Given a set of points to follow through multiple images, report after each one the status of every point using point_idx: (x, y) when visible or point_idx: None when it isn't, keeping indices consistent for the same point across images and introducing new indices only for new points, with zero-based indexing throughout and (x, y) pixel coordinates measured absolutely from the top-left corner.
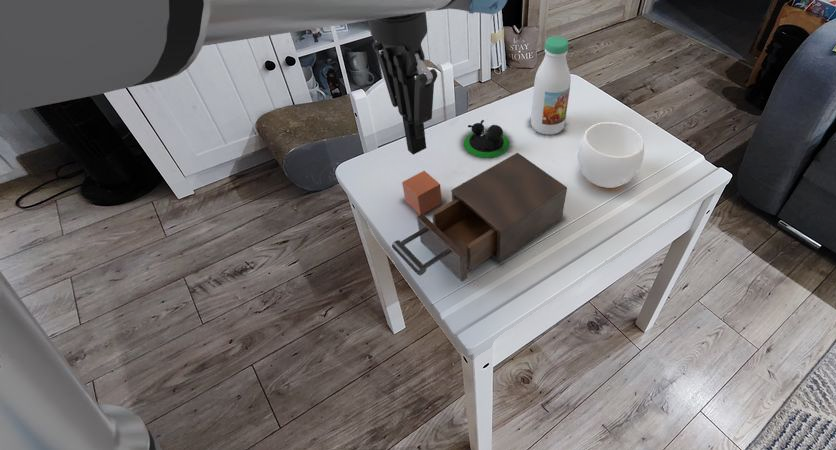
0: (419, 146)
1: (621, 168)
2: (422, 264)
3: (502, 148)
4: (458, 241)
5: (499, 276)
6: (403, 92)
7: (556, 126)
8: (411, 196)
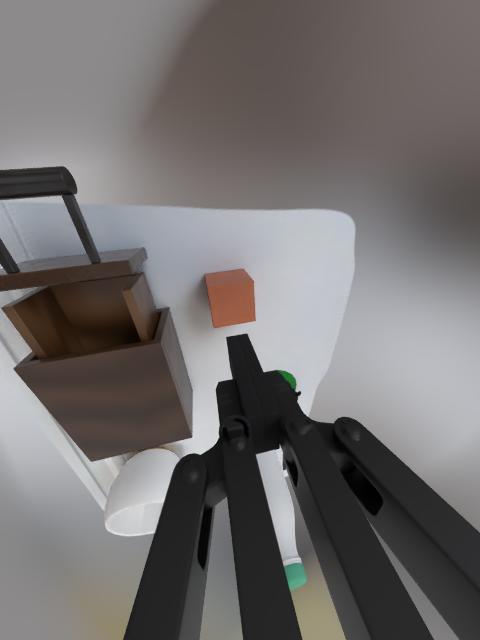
0: (230, 362)
1: (107, 502)
2: None
3: None
4: (107, 296)
5: None
6: (334, 565)
7: None
8: (226, 279)
